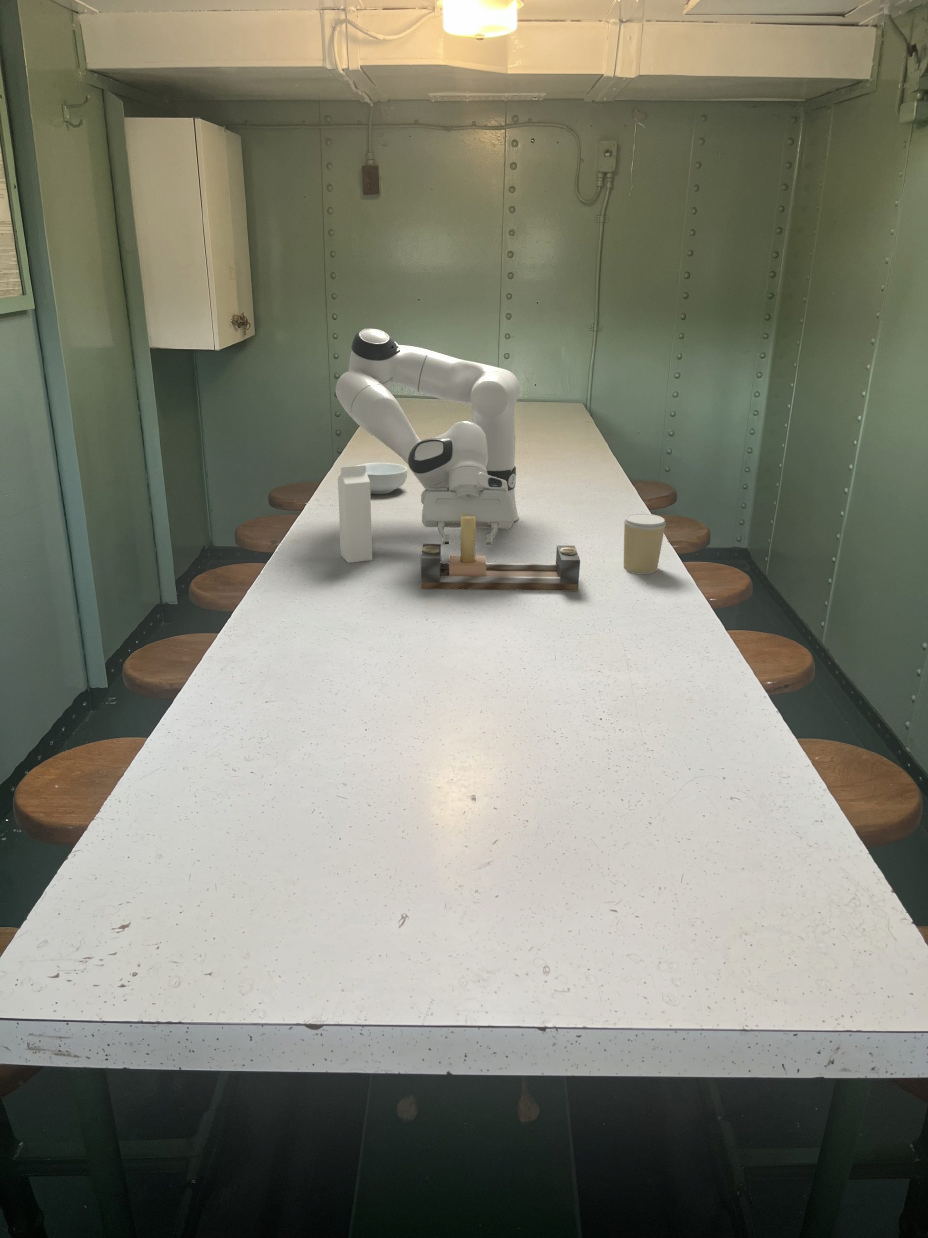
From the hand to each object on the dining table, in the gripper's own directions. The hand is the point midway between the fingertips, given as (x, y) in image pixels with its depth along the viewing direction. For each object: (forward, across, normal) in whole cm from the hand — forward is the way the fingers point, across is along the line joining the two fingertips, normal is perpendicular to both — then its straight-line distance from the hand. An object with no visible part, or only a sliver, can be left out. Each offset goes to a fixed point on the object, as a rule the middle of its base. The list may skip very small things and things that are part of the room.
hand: (467, 543), depth 190 cm
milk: (-5, -26, +18) cm, 32 cm away
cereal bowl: (-49, -26, +62) cm, 83 cm away
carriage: (+5, 0, +6) cm, 7 cm away
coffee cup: (-1, +40, +14) cm, 43 cm away
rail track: (+6, +7, +7) cm, 11 cm away
